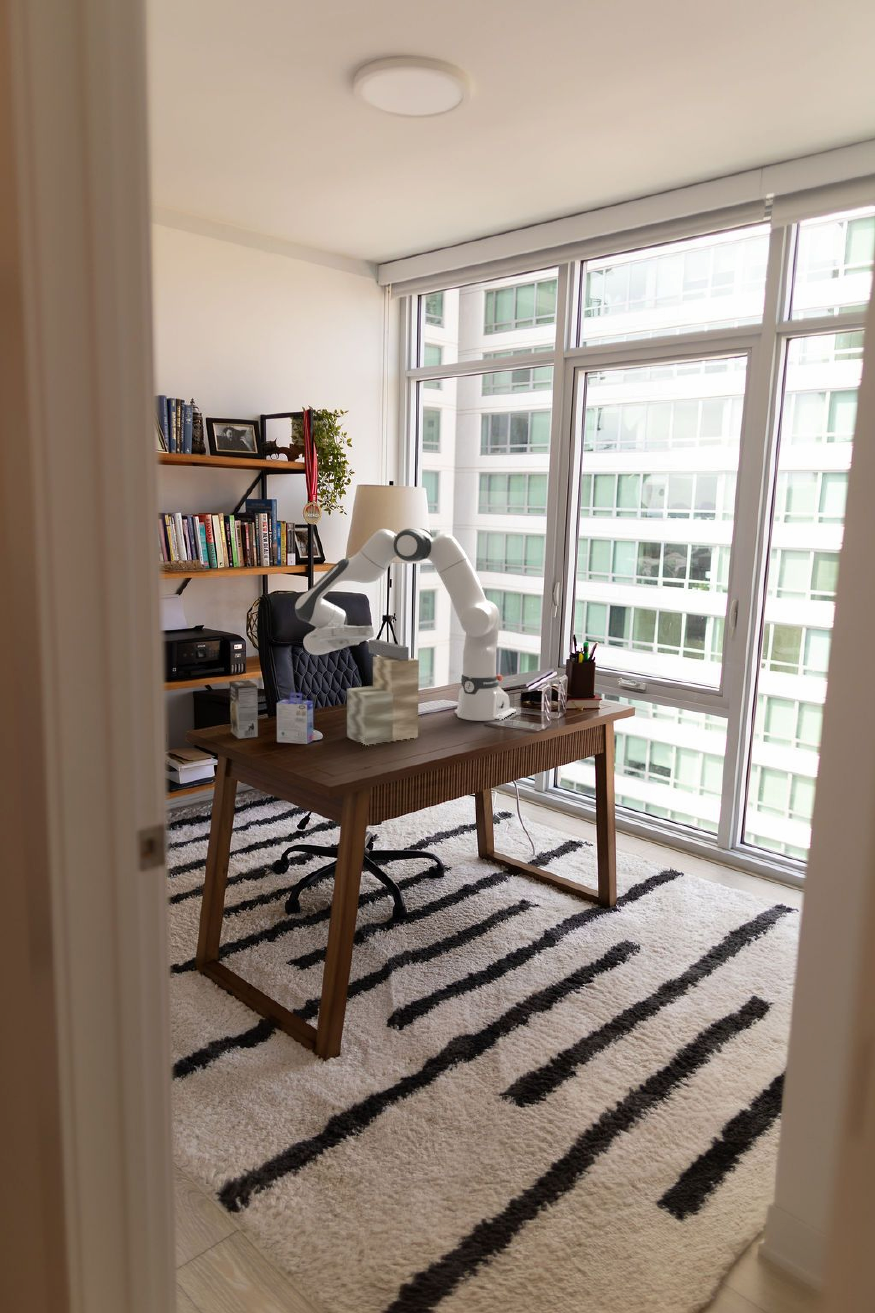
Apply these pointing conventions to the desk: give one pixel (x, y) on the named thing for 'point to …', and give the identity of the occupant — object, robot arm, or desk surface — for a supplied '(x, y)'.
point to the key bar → (389, 650)
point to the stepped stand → (385, 703)
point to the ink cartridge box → (295, 720)
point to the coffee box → (243, 709)
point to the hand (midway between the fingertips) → (357, 629)
